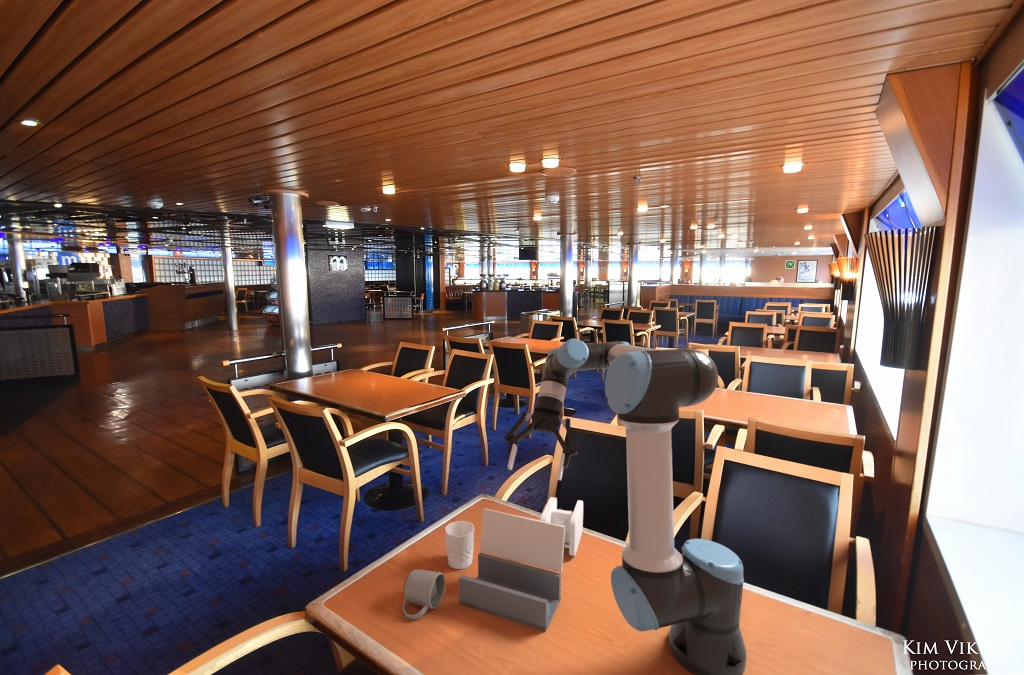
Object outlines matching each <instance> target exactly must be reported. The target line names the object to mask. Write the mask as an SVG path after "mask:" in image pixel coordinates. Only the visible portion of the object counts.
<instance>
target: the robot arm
mask: <svg viewBox="0 0 1024 675" xmlns="http://www.w3.org/2000/svg"><path fill="white" fill-rule="evenodd" d="M544 363H545V365H544V368H543V373H542V376H541V377H542V378H541V383H540V387H539V389H538V390H539V391H538V394H537V398H536V402H535V403H536V404H535V407H534V410H533V412H532V413H529V412H527V411H526V410H523V411H522V413H521V415H520V418H519V419H517V421H516V422H515V423H514V425H513V426H512V427H511V428H510V429H509V431H508V432H507V433H506V434H505V435H504V437H503V438H504V439H503V440H504V441H505V443H508V444H509V445H508V449H507V453H506V454H507V456H508V457H509V460H508V463H507V469H508V470H509V471H512V470H513V467H514V464H515V460H516V455H517V452H518V448H519V447H518V443H521V441H523V440H525V438H527V437H528V436H529V435H530V434H532V433H535V431H538V432H541V433H547V434H550V433H553V435H554V436H555V438H556V440H557V442H558V443H559V445H560V446H561V449H562V451H563V452H564V453H563V452H562V453H561V457H560V462H559V466H558V472H557V477H556V478H557V480H558V481H562V478H563V473H564V468H565V469H567V468H569V464H570V458H571V457H572V456H577V455H578V450H577V446H576V444H575V440H574V435H573V432H572V429H571V426H572V425H571V424H572V421H571V419H570V418H569V417H567V418H564V419H563V418H561V417H562V412H563V406H564V404H563V403H564V401H565V396H566V393H567V387H568V382H569V379H570V378H569V377H570V376H571V375H573V373H575V372H579V371H581V372H582V371H592V370H593V371H594V370H607V371H606V374H605V381H604V393H605V398H606V399H607V404H608V406H609V408H610V409H611V410H612V411H613V412H614V413H617V420H618V421H619V422H620V423H621V424H622V425H623V426H624V427H625V436H626V437H625V441H626V442H625V443H626V473H627V474H626V476H627V477H626V479H627V509H628V513H627V514H628V541H629V543H628V545H626V546H624V548H623V549H622V551H621V565H617V566H616V567H614V568H613V569H612V571H611V573H610V585H611V589H612V593H613V594H612V595H613V596H614V597H613V598H614V599H615V602H616V604H617V607H618V609H619V611H620V613H621V614H622V616H623V618H624V620H625V621H626V622H627V624H628V625H629V626H630V627H631V628H632V629H634V630H636V631H637V632H647V631H652V630H653V631H659V629H661V628H666V627H670V628H669V631H668V632H669V633H668V646H669V649H670V652H671V653H672V655H673V657H674V659H676V661H677V662H678V663H679V664H680V665H682V667H684V669H686V670H688V671H689V672H690V673H692V674H694V675H742V674H743V673H744V672H745V670H746V667H747V666H746V665H747V650H746V645H745V642H744V638H743V634H742V632H741V627H740V622H741V621H740V619H741V611H742V610H741V609H742V600H743V599H742V598H743V588H744V582H745V579H744V565H743V562H742V560H741V559H740V557H739V556H738V555H737V554H736V553H735V552H734V551H733V550H731V549H730V548H729V547H726V546H725V545H722V544H721V543H718V542H716V541H712V540H709V539H703V538H691V539H687V540H686V541H685V542H683V543H684V544H683V546H682V547H681V551H682V552H681V553H680V552H679V551H678V550H677V548H675V528H674V527H675V526H674V525H675V524H674V523H675V522H674V489H673V488H674V484H673V449H672V448H673V447H672V446H673V445H672V444H673V443H672V441H673V440H672V429H673V427H674V426H675V425H676V424H677V423H679V421H680V408H685V407H691V406H696V405H700V404H701V403H703V402H705V401H706V400H708V398H710V397H711V396H712V394H713V393H714V392H715V390H716V388H717V385H718V381H719V373H718V368H717V365H716V363H715V361H714V360H713V359H712V358H711V357H710V356H709V355H708V354H706V353H705V352H704V351H701V350H699V349H694V348H684V347H683V348H675V349H674V348H673V349H671V348H670V349H656V348H650V347H644V346H638V345H631V344H630V343H629V342H628V341H618V340H615V341H607V342H604V341H603V342H589V343H588V342H584V341H583V340H581V339H577V338H571V339H568V340H566V341H565V342H564V343H562V344H561V345H559V347H555V348H552V349H550V350H549V351H548V353H547V357H546V358H545V362H544ZM530 419H531V420H532V421H531V423H529V424H528V425H527V426H526V427H525V428H524V429H523V430H521V428H523V427H524V425H525V424H526V422H528V421H529V420H530ZM560 425H562V426H563V428H565V431H566V434H567V437H568V440H569V444H570V449H569V447H568V446H567V444H566V442H565V441H564V439H563V437H562V436H561V434H560V432H559V430H558V427H559V426H560ZM520 430H521V431H520ZM519 431H520V432H519ZM518 432H519V433H518Z"/></svg>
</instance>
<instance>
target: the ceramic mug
mask: <svg viewBox="0 0 1024 675" xmlns="http://www.w3.org/2000/svg"><path fill="white" fill-rule="evenodd" d="M445 578H446V577H445V575H444V573H442V572H439V571H432V570H425V569H413V570H410V572H409V573H408V574H407V576H406V577H405V579H404V583H403V588H402V590H403V591H402V593H403V597H404V601H403V603H402V612H403V615H404V616H405V618H406V619H409V620H412V621H413V620H414V621H416V620H418V619H421V617H423V616H424V615H425V613H426V612H427V611H428V610H429V609H432V610H434V609H437V608H438V607H439V605H440V604H441V602H442V600H443V598H444V594H445V589H446V579H445ZM409 602H410V603H412V604H415V605H419V606H421V607H422V608H421V610H420V611H418V612H417V613H415V614H410V613H409V612H408V611H407V610H406V609H407V606H408V603H409Z"/></svg>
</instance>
